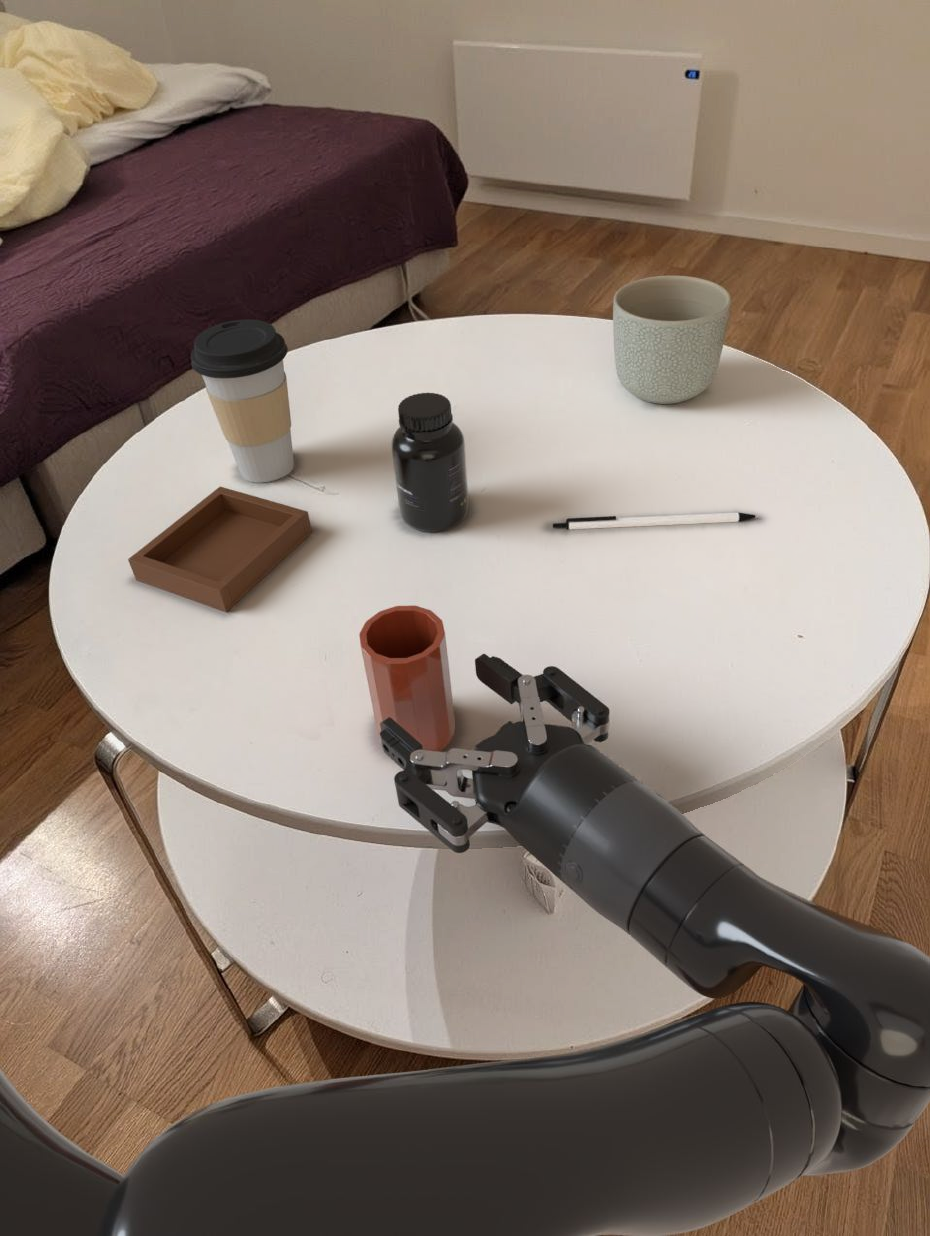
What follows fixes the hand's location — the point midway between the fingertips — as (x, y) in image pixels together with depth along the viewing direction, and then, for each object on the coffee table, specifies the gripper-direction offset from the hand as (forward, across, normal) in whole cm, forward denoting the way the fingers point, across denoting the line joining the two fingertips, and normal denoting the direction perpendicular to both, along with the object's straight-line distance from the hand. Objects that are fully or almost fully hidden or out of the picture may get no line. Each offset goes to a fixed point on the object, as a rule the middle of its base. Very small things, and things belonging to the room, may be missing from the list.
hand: (433, 695), depth 64 cm
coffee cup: (+43, +12, -6) cm, 45 cm away
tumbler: (+3, 0, -6) cm, 7 cm away
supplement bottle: (+24, +19, -6) cm, 31 cm away
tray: (+33, +1, -6) cm, 33 cm away
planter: (+23, +53, -6) cm, 58 cm away
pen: (+7, +32, -6) cm, 34 cm away
